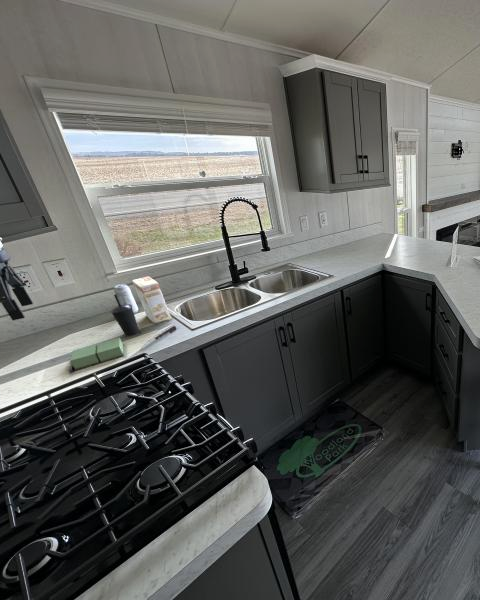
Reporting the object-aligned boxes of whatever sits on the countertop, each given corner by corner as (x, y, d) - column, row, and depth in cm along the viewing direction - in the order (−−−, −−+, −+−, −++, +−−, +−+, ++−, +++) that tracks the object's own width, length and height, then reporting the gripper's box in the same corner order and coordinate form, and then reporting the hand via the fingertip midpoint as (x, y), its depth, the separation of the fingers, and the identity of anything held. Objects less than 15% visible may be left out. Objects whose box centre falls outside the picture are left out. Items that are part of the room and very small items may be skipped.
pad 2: (100, 361, 126) (96, 353, 125) (102, 351, 133) (97, 343, 131) (123, 354, 130) (119, 346, 128) (123, 345, 137) (119, 337, 135)
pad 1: (75, 369, 122) (70, 360, 121) (77, 358, 129) (72, 350, 127) (99, 362, 126) (94, 353, 124) (100, 352, 133) (96, 343, 131)
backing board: (71, 375, 121) (68, 370, 120) (75, 361, 130) (72, 356, 129) (125, 358, 130) (122, 353, 129) (125, 346, 138) (122, 341, 137)
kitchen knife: (175, 329, 150) (173, 325, 149) (176, 329, 150) (175, 325, 149) (140, 351, 134) (138, 347, 133) (142, 351, 134) (140, 347, 133)
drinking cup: (121, 335, 147) (102, 295, 138) (142, 329, 151) (125, 289, 143) (123, 341, 142) (104, 300, 133) (144, 335, 146) (127, 294, 138)
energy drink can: (141, 309, 170) (130, 283, 164) (134, 315, 165) (122, 287, 158) (130, 310, 170) (118, 283, 164) (121, 315, 165) (109, 288, 158)
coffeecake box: (172, 319, 159) (158, 282, 151) (155, 325, 154) (140, 287, 146) (162, 310, 168) (148, 275, 160) (146, 316, 163) (131, 280, 155)
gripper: (-7, 257, 94) (31, 321, 103) (13, 240, 112) (45, 296, 121) (-47, 263, 90) (-3, 329, 99) (-19, 245, 108) (16, 302, 117)
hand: (23, 311), depth 110 cm, fingers open, 13 cm apart
